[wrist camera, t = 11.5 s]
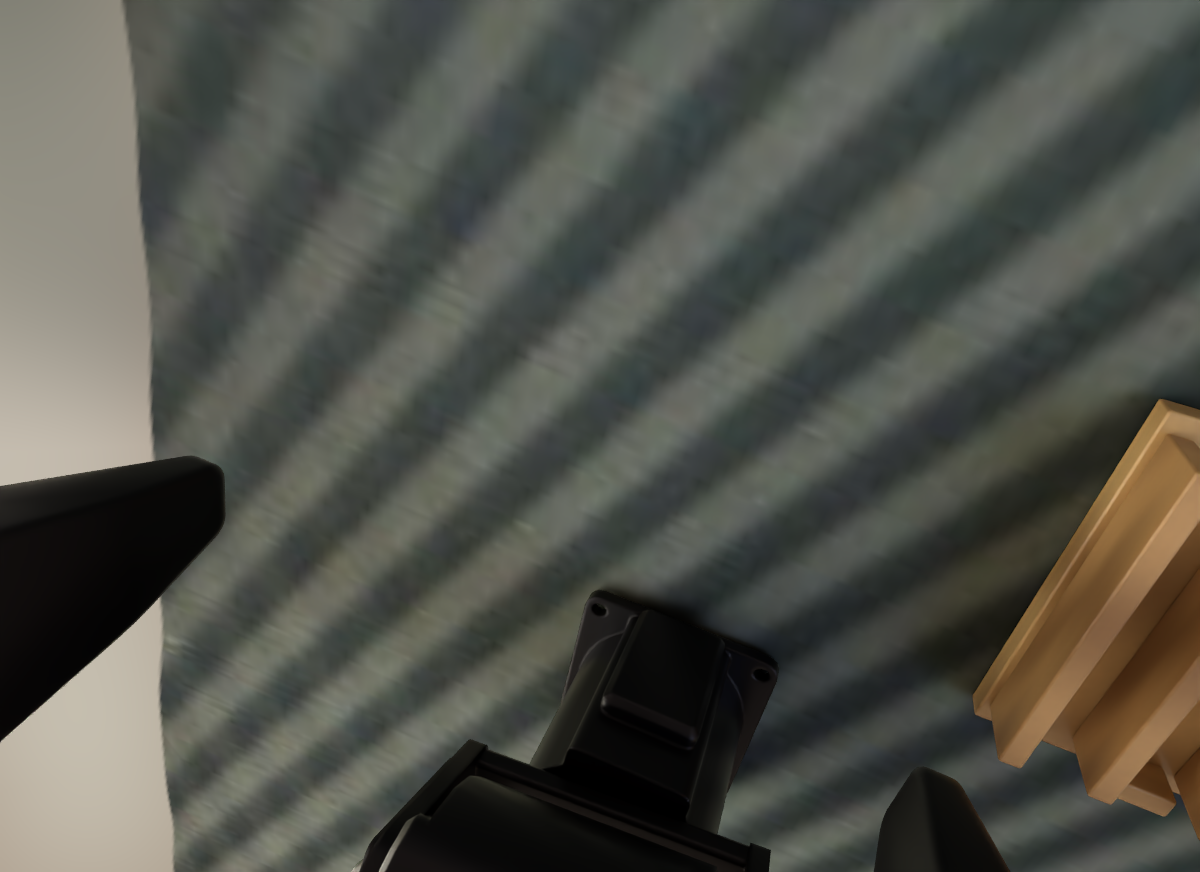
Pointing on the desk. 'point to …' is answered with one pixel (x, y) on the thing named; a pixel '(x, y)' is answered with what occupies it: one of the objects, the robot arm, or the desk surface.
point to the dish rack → (1117, 634)
